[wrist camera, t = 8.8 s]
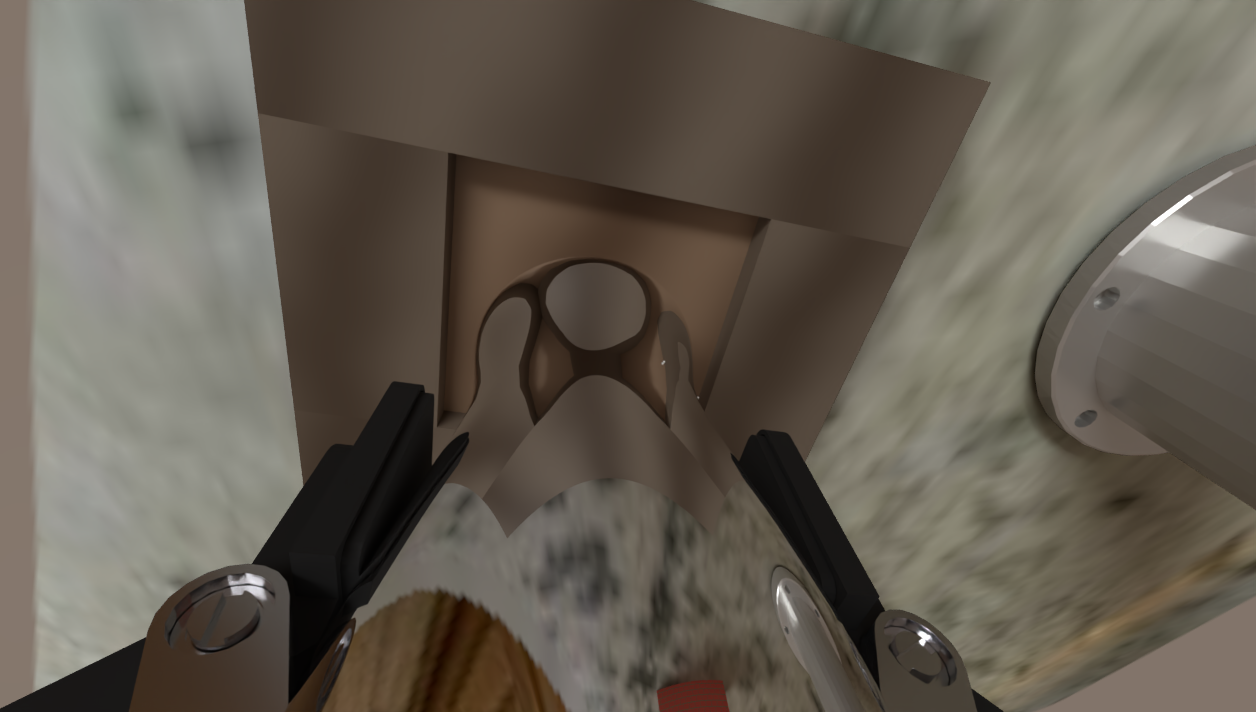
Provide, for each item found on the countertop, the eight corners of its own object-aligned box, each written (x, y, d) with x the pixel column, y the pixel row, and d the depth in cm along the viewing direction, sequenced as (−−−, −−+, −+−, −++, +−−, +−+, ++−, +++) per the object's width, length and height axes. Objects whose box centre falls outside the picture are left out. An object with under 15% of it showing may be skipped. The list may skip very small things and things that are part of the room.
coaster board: (944, 80, 15) (991, 82, 13) (748, 514, 24) (761, 550, 22) (279, -100, 12) (228, -127, 10) (329, 471, 21) (306, 508, 19)
